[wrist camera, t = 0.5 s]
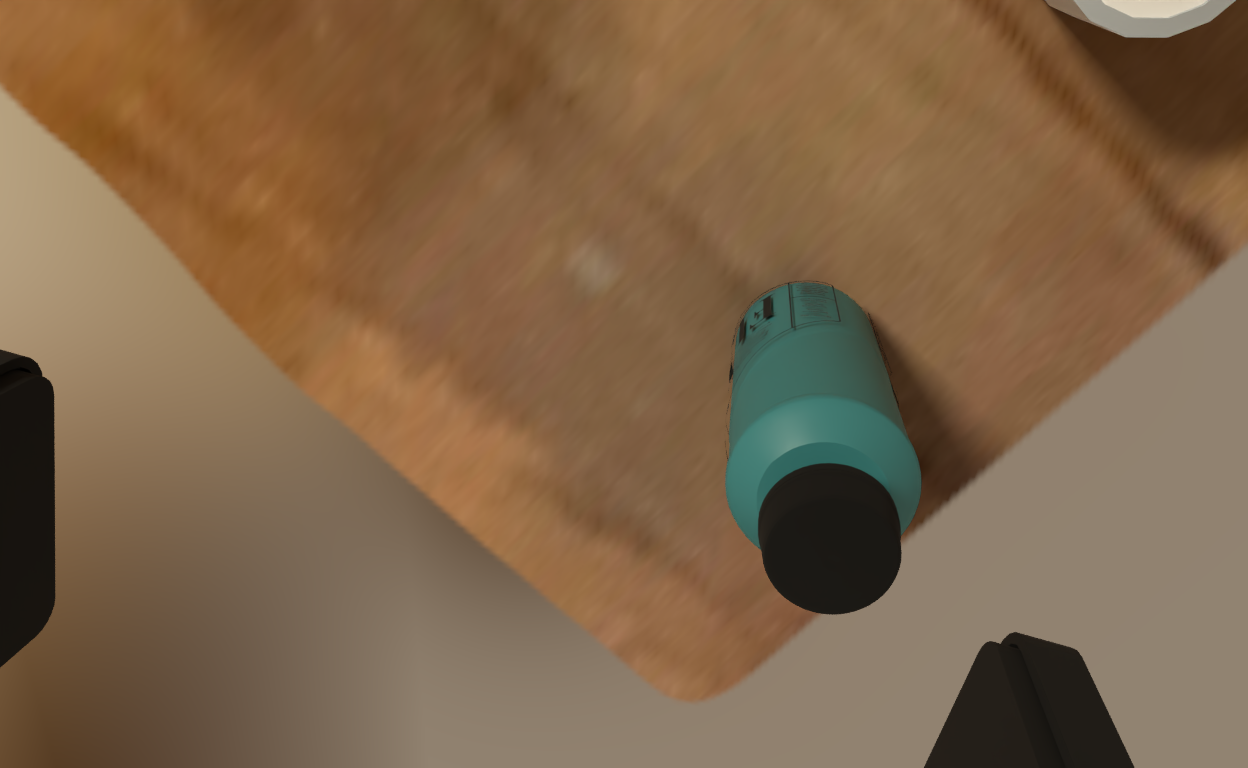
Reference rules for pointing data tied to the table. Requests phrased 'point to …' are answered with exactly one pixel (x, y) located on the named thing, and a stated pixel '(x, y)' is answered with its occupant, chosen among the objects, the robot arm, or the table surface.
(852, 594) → the beverage bottle
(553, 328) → the table surface
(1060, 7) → the white cup
